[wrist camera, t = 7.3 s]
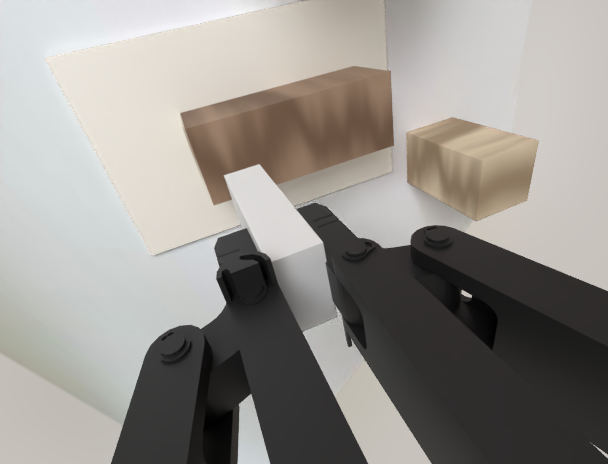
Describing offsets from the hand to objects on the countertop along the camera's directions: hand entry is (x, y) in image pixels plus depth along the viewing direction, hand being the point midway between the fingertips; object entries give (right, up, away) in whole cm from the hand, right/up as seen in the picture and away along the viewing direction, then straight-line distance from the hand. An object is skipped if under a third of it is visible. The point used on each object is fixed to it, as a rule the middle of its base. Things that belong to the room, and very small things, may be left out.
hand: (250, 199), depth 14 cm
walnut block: (-4, +3, +6) cm, 8 cm away
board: (-1, +6, +9) cm, 11 cm away
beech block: (+13, +6, +15) cm, 21 cm away
